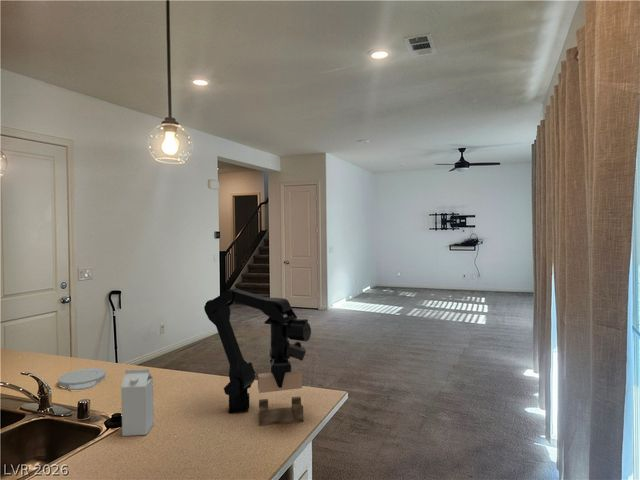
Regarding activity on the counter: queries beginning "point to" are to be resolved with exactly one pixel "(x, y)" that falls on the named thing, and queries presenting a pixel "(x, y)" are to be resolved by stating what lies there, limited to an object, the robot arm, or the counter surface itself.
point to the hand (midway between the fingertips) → (279, 385)
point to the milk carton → (137, 402)
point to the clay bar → (269, 383)
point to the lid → (82, 378)
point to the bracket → (280, 413)
